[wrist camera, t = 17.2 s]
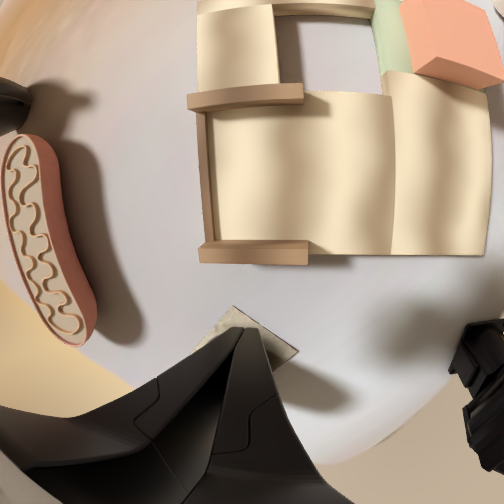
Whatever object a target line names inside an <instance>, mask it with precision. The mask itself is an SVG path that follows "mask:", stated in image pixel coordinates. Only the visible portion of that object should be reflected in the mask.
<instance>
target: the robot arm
mask: <svg viewBox="0 0 504 504" xmlns="http://www.w3.org/2000/svg"><path fill="white" fill-rule="evenodd" d="M503 332H504V319H498V320H491V321H485V322H478V323H470V324H468V325H467V326H466V327H465V330H464V333H463V335H462V338H461V341H460V343H459V346H458V348H457V351H456V353H455V356H454V358H453V360H452V363H451V365H450V367H449V369H448V372H449V374H456V373H458V375H459V377H460V379H461V381H462V383H463V385H464V387H465V388H468V389H469V392H470V394H471V396H472V398H473V400H472V401H471V402H470V403H469V404H468V405H466V406H465V407H463V408H462V409H463V416H464V422H465V428H466V435H467V441H468V443H469V447H470V448H472V449H473V450H474V451H475V452H476V453H477V454H478V456H479V460H480V464H481V466H482V468H483V469H485V470H486V471H488V472H490V471H492V470H494V471H496V472H499V473H501V474H503V475H504V334H503ZM0 504H355V503H353V502H351V501H350V500H349V499H348V498H346V497H345V496H343V495H342V494H341V493H339V492H338V491H337V490H335V489H334V488H333V487H332V486H330V485H329V484H328V483H327V482H326V481H325V480H324V479H323V477H322V476H321V475H320V473H319V472H318V470H317V469H316V467H315V466H314V464H313V463H312V461H311V459H310V457H309V456H308V454H307V452H306V451H305V449H304V447H303V445H302V444H301V442H300V440H299V438H298V437H297V435H296V433H295V431H294V429H293V427H292V425H291V423H290V421H289V419H288V417H287V414H286V412H285V409H284V406H283V404H282V401H281V397H280V395H279V392H278V389H277V385H276V382H275V379H274V376H273V373H272V370H271V367H270V364H269V360H268V357H267V354H266V351H265V348H264V344H263V341H262V338H261V335H260V332H259V329H258V328H251V327H246V328H244V327H235V326H233V327H230V328H229V329H228V330H226V331H225V332H223V333H222V334H220V335H219V336H217V337H216V338H215V339H213V340H212V341H210V342H209V343H207V344H206V345H204V346H203V347H201V348H200V349H198V350H197V351H195V352H194V353H192V354H191V355H189V356H188V357H186V358H185V359H183V360H182V361H180V362H179V363H177V364H176V365H174V366H173V367H171V368H170V369H168V370H167V371H165V372H163V373H162V374H160V375H159V376H157V378H154V379H152V380H151V381H149V382H147V383H146V384H144V385H142V386H141V387H139V388H137V389H136V390H134V391H132V392H130V393H128V394H126V395H124V396H123V397H120V398H118V399H116V400H114V401H112V402H110V403H107V404H105V405H103V406H101V407H99V408H96V409H94V410H92V411H90V412H87V413H85V414H82V415H80V416H76V417H71V418H60V417H53V416H46V415H40V414H35V413H30V412H24V411H21V410H16V409H12V408H8V407H4V406H1V405H0Z"/></svg>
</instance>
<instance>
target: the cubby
mask: <svg viewBox="0 0 504 504" xmlns="http://www.w3.org/2000/svg"><path fill="white" fill-rule="evenodd" d="M284 105H304V93H303V83H278V84H262V85H250V86H240V87H231V88H224V89H216V90H210V91H204V92H198V93H192V94H187V109H188V110H191V111H194V112H196V121H197V141H198V157H199V172H200V186H201V198H202V210H203V221H204V231H205V241H206V242H205V243H204V244H203V245H202V246H200V247H199V248H198V253H199V261H200V263H222V264H281V265H308V240H216V236H215V225H214V213H213V201H212V187H211V173H210V158H209V141H208V122H207V112H213V111H221V110H229V109H239V108H250V107H264V106H284Z"/></svg>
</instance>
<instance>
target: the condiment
mask: <svg viewBox="0 0 504 504" xmlns="http://www.w3.org/2000/svg"><path fill="white" fill-rule="evenodd" d="M233 326H235V327H244V328H246V327H251V328H258V329H259V332H260V335H261V338H262V341H263V344H264V348H265V351H266V354H267V357H268V360H269V364H270V367H271V370H272V372H273V371H275V370H276V369H277V368H278V367H279V366H280V365H281V364H283V363H284V362H285V361H287V360H288V359H289V358H291V357H292V356H293V355H294V354H295V353H296V352H297V351H296V350H294V349H293V348H291V347H290V346H289V345H288V344H286V343H285V342H284V341H282V340H281V339H279V338H278V337H276V336H275V335H274V334H272V333H271V332H269V331H268V330H266V329H265V328H264V327H262V325H260V324H258V323H256V322H255V321H253V320H252V319H250V318H249V317H248V316H247V315H245V314H244V313H242V312H240V311H239V310H238V309H236V308H235V307H233V306H232V307H231V308H230V309H229V310H228V312H227V313H226V314H225V315H224V316H223V317H222V318H221V320H220V321H219V322H218V323H217V324H216V325H215V327H214V328H213V329H212V330H211V331H210V332H209V333H208V334H207V336H206V337H205V338H204V339H203V340H202V341H201V342H200V344H199V345H198V346H197V347H196V348H195V349H194V350H193V352H192V353H194V352H195V351H197V350H198V349H200V348H201V347H203V346H204V345H206V344H207V343H209V342H210V341H212V340H213V339H215V338H216V337H217V336H219V335H220V334H222V333H223V332H225V331H226V330H228V329H229V328H230V327H233ZM192 353H191V354H192ZM191 354H190V355H191Z"/></svg>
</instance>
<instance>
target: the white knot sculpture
mask: <svg viewBox="0 0 504 504" xmlns="http://www.w3.org/2000/svg"><path fill="white" fill-rule="evenodd" d="M491 1H492V3H493V5H494V7H495V8H496V10H497V11H498V12H499V13H500V14H501V15H502V16H503V18H504V0H491Z"/></svg>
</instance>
